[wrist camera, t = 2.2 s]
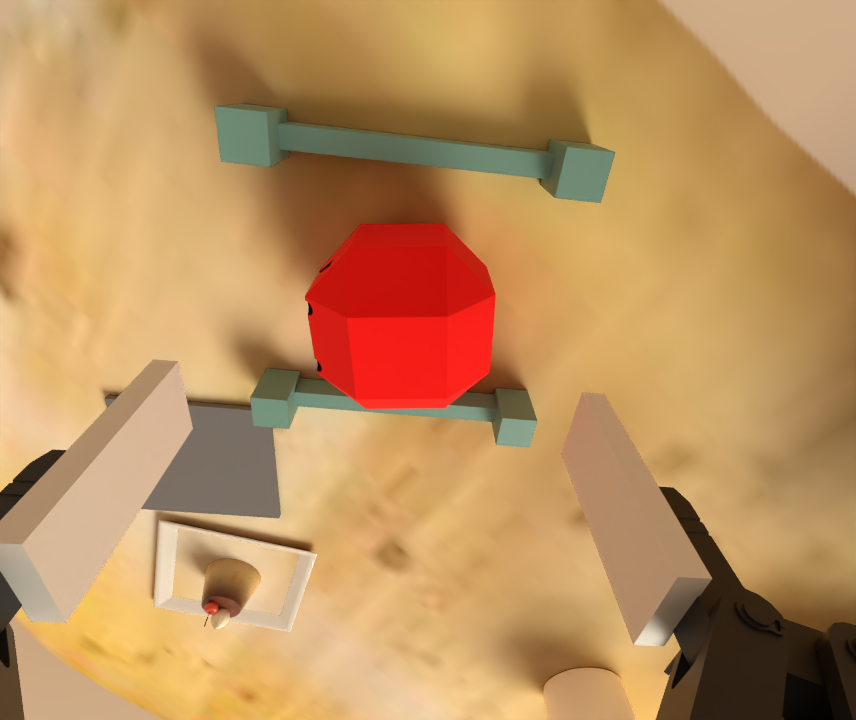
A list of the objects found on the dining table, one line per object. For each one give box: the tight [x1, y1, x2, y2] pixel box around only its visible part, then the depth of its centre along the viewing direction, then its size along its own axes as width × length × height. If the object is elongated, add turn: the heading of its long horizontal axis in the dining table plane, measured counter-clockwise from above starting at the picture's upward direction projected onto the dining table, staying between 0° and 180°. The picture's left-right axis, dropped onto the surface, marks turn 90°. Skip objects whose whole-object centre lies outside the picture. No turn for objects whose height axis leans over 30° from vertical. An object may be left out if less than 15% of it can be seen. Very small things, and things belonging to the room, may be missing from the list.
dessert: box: [153, 520, 317, 632], centre depth 37 cm, size 12×12×5 cm
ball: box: [305, 223, 495, 409], centre depth 22 cm, size 8×8×8 cm
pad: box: [105, 395, 281, 518], centre depth 31 cm, size 10×10×1 cm
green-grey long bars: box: [214, 103, 615, 448], centre depth 23 cm, size 16×16×3 cm
